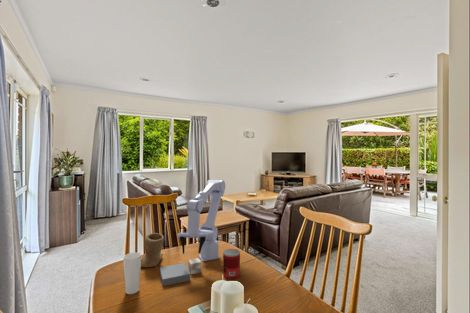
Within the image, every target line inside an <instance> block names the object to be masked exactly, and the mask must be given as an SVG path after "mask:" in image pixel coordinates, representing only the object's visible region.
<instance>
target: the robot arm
mask: <svg viewBox="0 0 470 313" xmlns="http://www.w3.org/2000/svg"><path fill="white" fill-rule="evenodd" d="M225 190H226V182H225V181H224V180H223V179H222V180H221V179H220V180H219V179H208V180H207V182H206V186H205V188H204V189H203V190H201V191H199V192H198V193H197V195H195V197H194V198H192V199H189V200H188V202H187V203H186V211H187V215H188V217H187V218H188V219H187V227H186V228H187V230H186V232H178V233H177V239H179V241H180V244H181V249H182V254H183V255H184V254H185V245H186V244H185V243H186V239H187V238H188V239H190V238H191V239H194V238H195V239H196V238H197V239H198V241H199V243H198V254H199V255H198V258H199V260H200V261H201V262H207V261H213V260H218V259H220V254H219V252H220V251H219V250H220V245H219V242H218V239H217V238H218V231H219V229H218V228H217V226H216V225H215V223H216V219H217V216H218V211H219V208H220V203H221V198H222V197H223V196H224V194H225ZM209 196H211V200H210V201H211V202H210V204H209V205H210V206H209V209H208V211H207V217H206V220H205V222H204V223H203V224H201V225H200V222H201V212H202V211H203V208H204V205H205V203H206V202H207V201H208V199H209Z"/></svg>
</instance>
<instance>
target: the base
mask: <svg viewBox="0 0 470 313" xmlns="http://www.w3.org/2000/svg"><path fill="white" fill-rule="evenodd" d="M159 275H160V276H159V277H160V280H161V285H162V287H166V286H170V285H176V284H181V283H184V282H189V281H191V274H190V271H189V267H188V266H187V264H186V262H182V263H178V264H177V263H176V264H171V265H165V266H160V267H159Z"/></svg>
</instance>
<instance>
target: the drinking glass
mask: <svg viewBox="0 0 470 313" xmlns="http://www.w3.org/2000/svg"><path fill="white" fill-rule="evenodd" d="M141 260H142V254H141V253H140V252H134V251H133V252H129V253H127V254H124V255H123V275H124V276H123V277H124V285H125V290H124V291H125V293H126V294H128V295H134V294H137V293H138V292H139V291H140V284H141V283H140V281H141V268H142V266H141Z"/></svg>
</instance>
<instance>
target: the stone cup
mask: <svg viewBox="0 0 470 313" xmlns="http://www.w3.org/2000/svg"><path fill="white" fill-rule="evenodd" d="M144 240H145V241H144V246H143V247H144V252H145V254H144V255H143V257H141V268H151V267H156V266H157V265H158V264H159V263H160V261H161V260H162V258H163V256H164V255H163V253H162V250H163V245H164V242H165V237H164V235H163V234H161V233H158V232H153V233H149V234H147V235H146V237H145V238H144Z"/></svg>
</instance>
